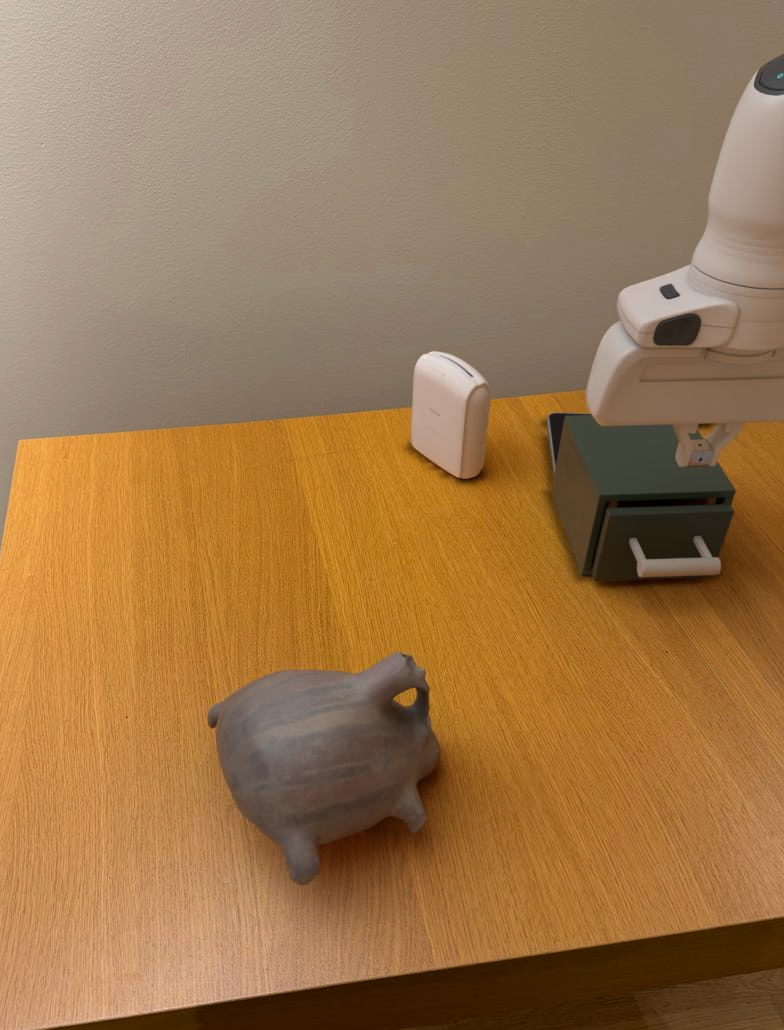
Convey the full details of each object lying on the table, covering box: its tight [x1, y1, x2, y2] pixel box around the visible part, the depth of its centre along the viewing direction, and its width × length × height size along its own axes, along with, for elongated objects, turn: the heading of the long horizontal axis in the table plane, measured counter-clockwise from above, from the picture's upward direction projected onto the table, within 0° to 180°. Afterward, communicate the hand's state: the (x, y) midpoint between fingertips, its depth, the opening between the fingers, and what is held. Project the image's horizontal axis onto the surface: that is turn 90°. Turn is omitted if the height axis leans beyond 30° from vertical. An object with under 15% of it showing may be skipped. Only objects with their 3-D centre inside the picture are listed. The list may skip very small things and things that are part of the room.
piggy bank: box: [207, 651, 442, 886], centre depth 69 cm, size 18×16×14 cm
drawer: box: [591, 498, 735, 582], centre depth 90 cm, size 18×11×8 cm, turn 1°
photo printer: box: [410, 351, 492, 480], centre depth 104 cm, size 10×4×12 cm, turn 32°
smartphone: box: [546, 412, 592, 475], centre depth 107 cm, size 7×1×15 cm
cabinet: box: [550, 415, 737, 576], centre depth 93 cm, size 15×13×10 cm
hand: (694, 463), depth 78 cm, fingers closed
